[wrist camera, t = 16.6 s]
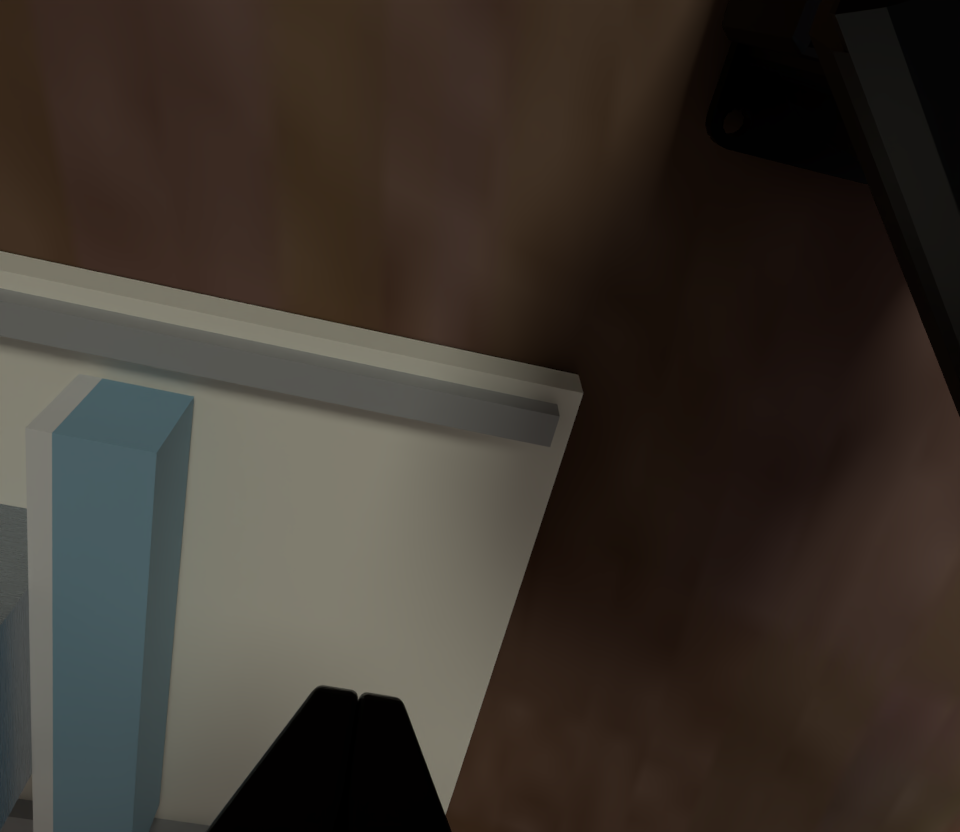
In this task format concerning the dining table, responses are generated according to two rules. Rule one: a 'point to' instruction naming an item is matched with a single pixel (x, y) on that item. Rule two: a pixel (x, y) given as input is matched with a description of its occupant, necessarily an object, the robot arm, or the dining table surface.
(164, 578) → the vise free jaw
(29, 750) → the steel block
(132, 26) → the dining table surface
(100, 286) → the vise bed
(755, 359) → the dining table surface
